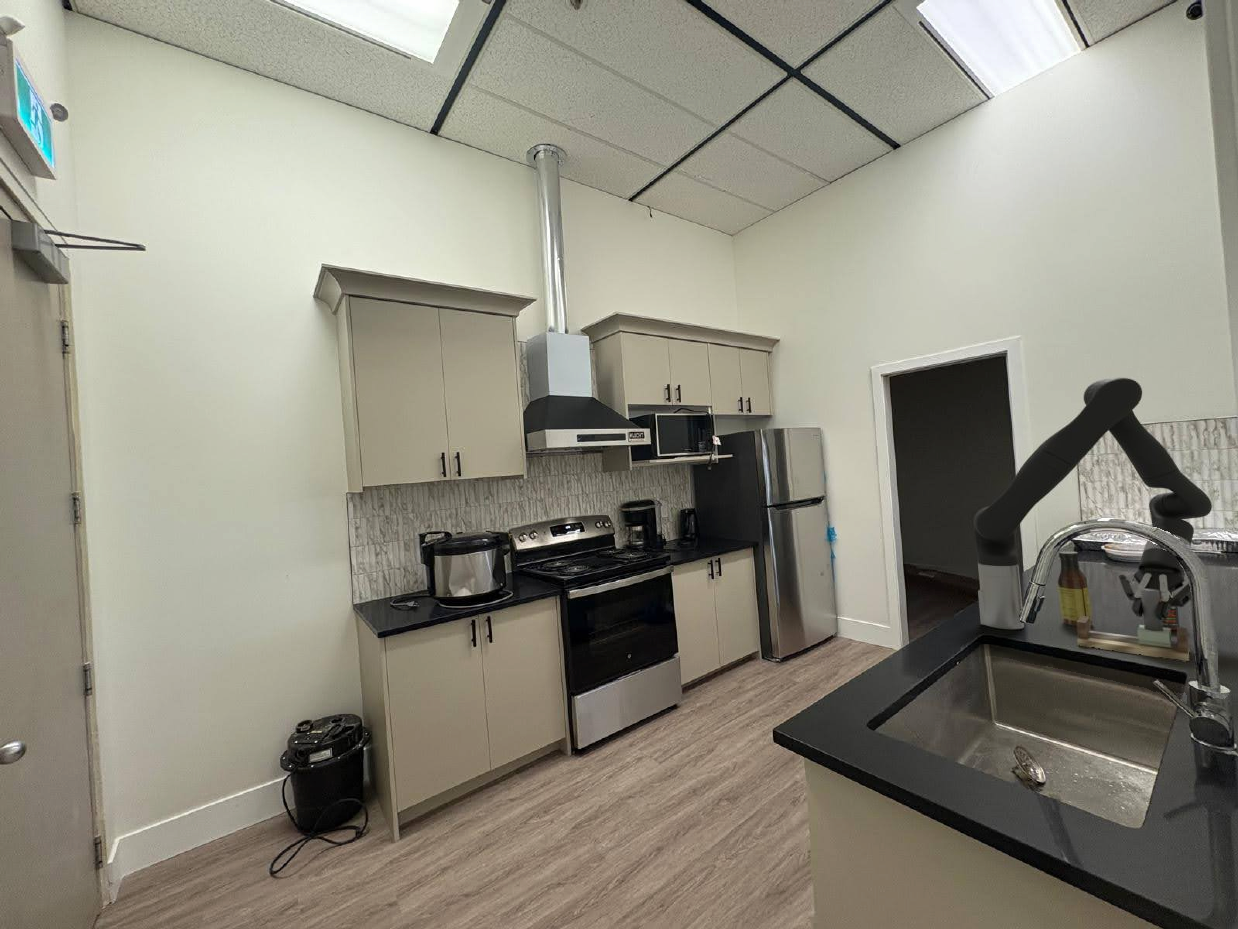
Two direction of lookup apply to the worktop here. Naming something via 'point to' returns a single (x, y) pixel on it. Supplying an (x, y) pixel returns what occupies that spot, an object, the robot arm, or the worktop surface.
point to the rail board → (1131, 642)
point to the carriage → (1152, 621)
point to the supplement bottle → (1171, 618)
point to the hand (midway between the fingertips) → (1148, 616)
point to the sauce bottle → (1073, 589)
